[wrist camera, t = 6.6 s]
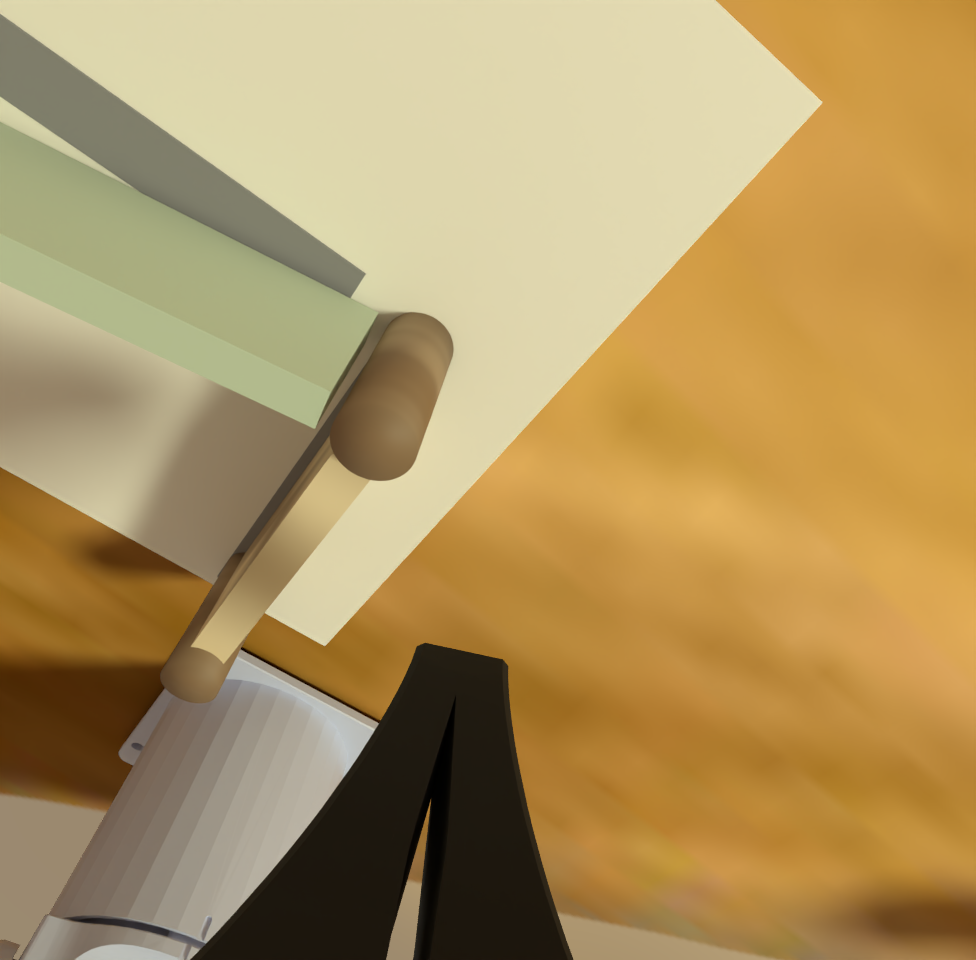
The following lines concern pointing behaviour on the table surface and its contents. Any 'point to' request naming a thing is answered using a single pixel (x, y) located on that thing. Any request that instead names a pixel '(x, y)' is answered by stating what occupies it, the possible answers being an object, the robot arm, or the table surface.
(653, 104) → the card
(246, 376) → the pale green bar
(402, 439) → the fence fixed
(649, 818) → the table surface
